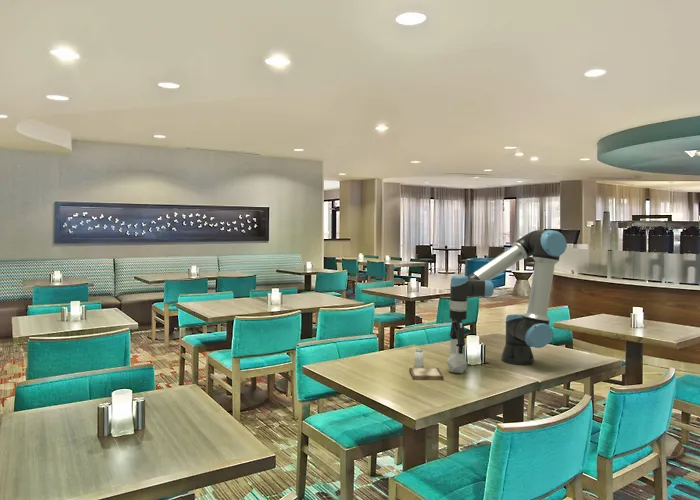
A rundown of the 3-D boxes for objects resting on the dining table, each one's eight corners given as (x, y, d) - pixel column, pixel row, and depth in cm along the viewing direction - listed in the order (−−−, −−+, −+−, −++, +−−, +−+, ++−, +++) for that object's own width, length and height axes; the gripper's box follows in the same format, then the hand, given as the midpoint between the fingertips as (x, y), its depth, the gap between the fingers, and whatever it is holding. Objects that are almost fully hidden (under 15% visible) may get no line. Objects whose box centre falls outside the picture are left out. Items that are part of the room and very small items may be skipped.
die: (469, 372, 230) (459, 352, 234) (472, 367, 222) (461, 346, 226) (452, 379, 229) (442, 359, 233) (454, 374, 221) (444, 353, 225)
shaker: (422, 365, 239) (422, 348, 238) (423, 367, 235) (424, 350, 234) (414, 365, 239) (414, 348, 238) (415, 367, 235) (415, 350, 234)
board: (438, 371, 228) (438, 367, 228) (443, 379, 215) (443, 376, 215) (409, 371, 228) (409, 367, 228) (413, 379, 215) (413, 375, 215)
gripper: (444, 305, 239) (443, 350, 240) (455, 314, 214) (453, 363, 215) (460, 306, 239) (458, 350, 240) (473, 314, 214) (471, 364, 215)
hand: (456, 356), depth 227 cm, fingers open, 13 cm apart
